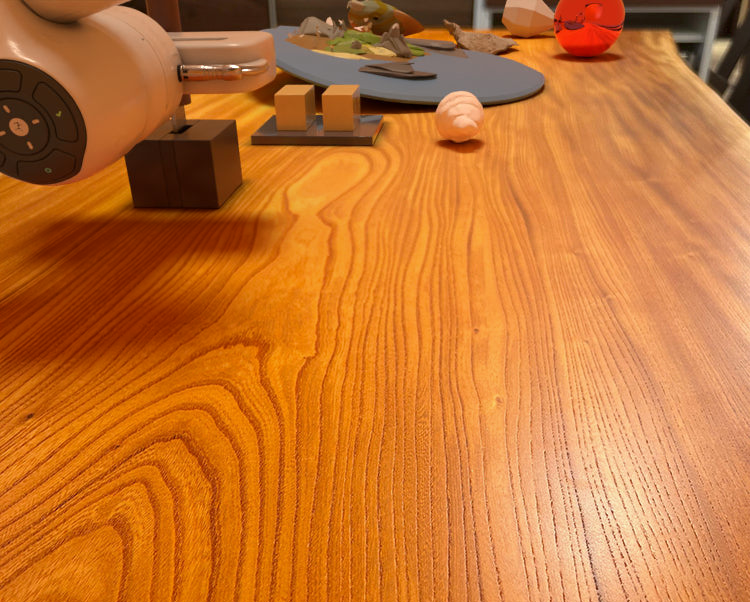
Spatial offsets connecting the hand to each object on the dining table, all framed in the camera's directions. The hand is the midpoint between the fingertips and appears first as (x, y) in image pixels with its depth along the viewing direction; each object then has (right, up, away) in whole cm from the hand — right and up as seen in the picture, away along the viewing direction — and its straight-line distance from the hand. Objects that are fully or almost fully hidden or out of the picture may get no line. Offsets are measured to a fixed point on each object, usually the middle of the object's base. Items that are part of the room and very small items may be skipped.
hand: (171, 47), depth 67 cm
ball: (+55, +28, +70) cm, 93 cm away
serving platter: (+21, +16, +52) cm, 58 cm away
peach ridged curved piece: (+27, -3, +19) cm, 34 cm away
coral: (+37, +33, +80) cm, 94 cm away
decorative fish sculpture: (+20, +36, +85) cm, 94 cm away
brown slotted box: (0, -11, +6) cm, 13 cm away
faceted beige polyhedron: (+53, +42, +93) cm, 115 cm away
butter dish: (+11, 0, +25) cm, 28 cm away
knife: (0, -11, +6) cm, 13 cm away
